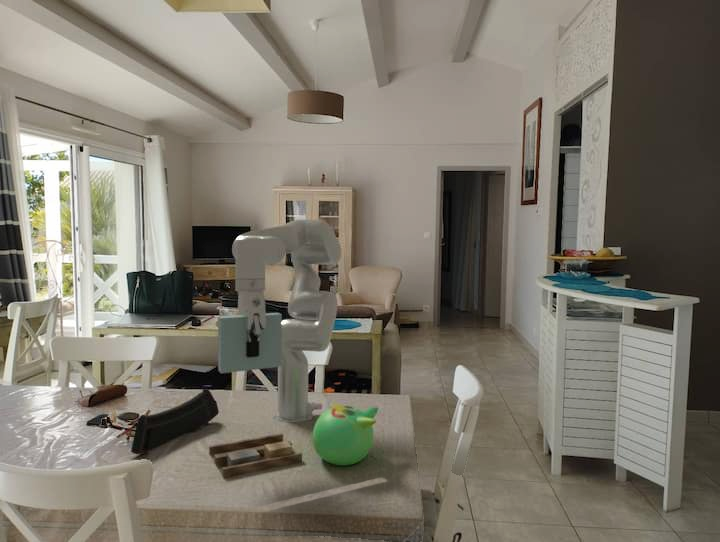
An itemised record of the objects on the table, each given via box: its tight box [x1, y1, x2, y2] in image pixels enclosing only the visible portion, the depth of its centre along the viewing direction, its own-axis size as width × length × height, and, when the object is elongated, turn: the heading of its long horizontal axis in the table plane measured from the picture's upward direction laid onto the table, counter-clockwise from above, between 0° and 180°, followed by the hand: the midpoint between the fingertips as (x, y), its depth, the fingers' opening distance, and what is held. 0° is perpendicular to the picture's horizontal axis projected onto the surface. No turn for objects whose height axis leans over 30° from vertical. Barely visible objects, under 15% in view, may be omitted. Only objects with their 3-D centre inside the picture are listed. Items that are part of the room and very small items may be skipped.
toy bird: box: [312, 403, 379, 467], centre depth 136 cm, size 18×17×15 cm
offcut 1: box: [227, 449, 260, 467], centre depth 131 cm, size 7×4×3 cm, turn 118°
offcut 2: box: [264, 440, 293, 459], centre depth 135 cm, size 6×4×4 cm, turn 118°
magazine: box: [130, 388, 220, 455], centre depth 149 cm, size 17×3×30 cm
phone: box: [86, 413, 109, 427], centre depth 161 cm, size 8×1×15 cm
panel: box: [217, 312, 283, 374], centre depth 137 cm, size 16×3×14 cm, turn 118°
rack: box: [208, 432, 303, 480], centre depth 136 cm, size 20×16×3 cm
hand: (250, 354), depth 137 cm, fingers closed on panel, 3 cm apart
